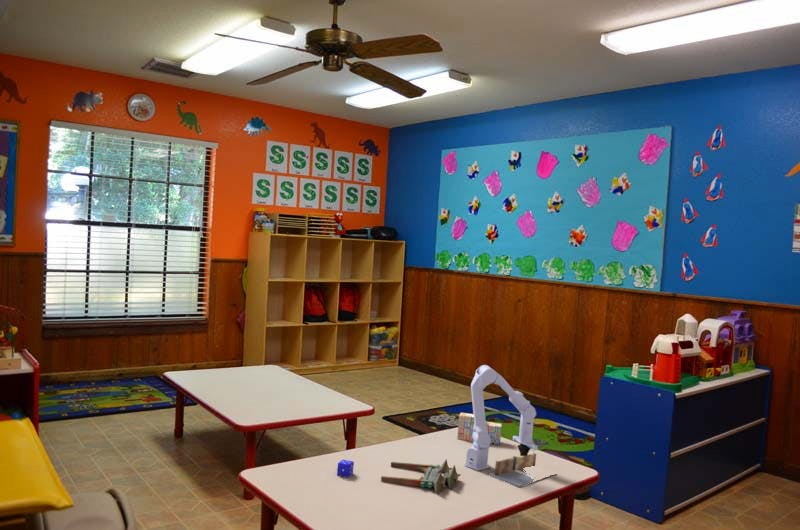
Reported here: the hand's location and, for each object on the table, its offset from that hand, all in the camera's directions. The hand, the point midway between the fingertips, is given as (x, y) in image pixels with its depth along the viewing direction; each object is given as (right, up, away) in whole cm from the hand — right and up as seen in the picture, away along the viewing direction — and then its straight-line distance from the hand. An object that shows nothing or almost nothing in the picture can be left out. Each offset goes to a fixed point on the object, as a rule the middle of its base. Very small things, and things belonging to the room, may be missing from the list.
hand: (523, 461), depth 270 cm
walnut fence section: (-10, -2, -9) cm, 13 cm away
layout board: (-2, -3, -9) cm, 9 cm away
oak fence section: (+1, -2, -1) cm, 2 cm away
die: (-77, +3, -25) cm, 81 cm away
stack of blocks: (-15, -1, +36) cm, 39 cm away
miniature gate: (-46, 0, -23) cm, 51 cm away
